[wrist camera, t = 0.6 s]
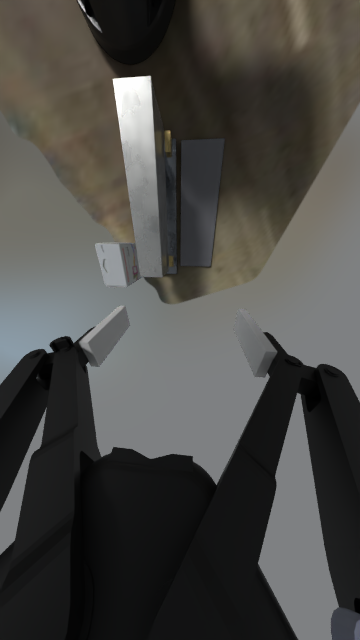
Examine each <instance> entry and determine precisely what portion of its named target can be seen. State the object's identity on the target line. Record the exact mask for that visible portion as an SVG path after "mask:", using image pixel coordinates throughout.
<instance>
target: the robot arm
mask: <svg viewBox="0 0 360 640" xmlns="http://www.w3.org/2000/svg"><path fill="white" fill-rule="evenodd" d="M77 3H78V5H79V7H80V9H81V11H82V13H83V15H84V17H85V20H86V22H87V24H88V26H89V28H90V30H91V31H92V33H93V35H94V37H95V38H96V40H97V41H98V43H99V44H100V45H101V47H102V48H103V49H104V50H105V51H106V52H107V53H108V54H109V55H110V56H111V57H113V58H114V59H116V60H118V61H119V62H122V63H126V64H136V63H139V62H142V61H144V60H145V59H147V58H148V57H149V56H150V55H151V54H152V53H153V52H154V51H155V50H156V48H157V47H158V45H159V44H160V42H161V41H162V39H163V37H164V35H165V32H166V30H167V28H168V25H169V22H170V19H171V15H172V12H173V8H174V3H175V0H77ZM129 326H130V323H129V319H128V315H127V311H126V307H125V306H118V307H117V308H116V309H115V310H114V311H113V312H112V313H111V314H109V315H108V316H107V317H106V318H105V319H104V320H103V321H102V322H100V323H99V324H98V325H97V326H95V327H93V328H91V329H90V330H88V331H87V332H86V333H85V334H84V335H83V336H82V337H80V338H79V339H78V340H77V341H76V342H75V343H73V341H72V340H71V338H70V337H68V336H65V337H60V338H58V339H56V340H54V341H52V342H51V343H50V347H51V348H52V350H53V351H54V352H52V353H47V352H46V351H45V350H44V349H38V350H34V351H32V352H30V353H28V354H26V355H25V356H24V357H23V358H22V359H21V360H20V362H19V363H18V364H17V365H16V366H15V368H14V369H13V370H12V371H11V373H10V374H9V375H8V376H7V377H6V379H5V380H4V381H3V382H2V383H1V385H0V511H1V509H2V507H3V505H4V503H5V501H6V498H7V496H8V494H9V492H10V489H11V487H12V485H13V483H14V480H15V478H16V476H17V473H18V471H19V469H20V467H21V464H22V462H23V460H24V457H25V455H26V453H27V451H28V448H29V446H30V443H31V441H32V439H33V437H34V435H35V432H36V430H37V428H38V425H39V423H40V421H41V418H42V416H43V414H44V412H45V409H46V407H47V410H46V417H45V424H44V431H43V437H42V444H41V447H40V449H38V450H36V451H35V452H34V453H33V455H32V456H31V460H30V463H29V469H28V474H27V479H26V485H25V490H24V495H23V501H22V506H21V511H20V517H19V522H18V527H17V533H16V538H15V541H14V542H13V543H12V544H11V545H10V546H9V547H8V548H7V549H6V550H5V551H4V552H3V553H2V554H1V555H0V640H298V639H297V637H296V635H295V633H294V631H293V629H292V627H291V626H290V623H289V622H288V620H287V618H286V616H285V614H284V612H283V610H282V608H281V606H280V605H279V603H278V601H277V599H276V597H275V595H274V593H273V591H272V589H271V588H270V586H269V584H268V582H267V580H266V578H265V576H264V574H263V573H262V571H261V569H260V567H259V565H258V561H259V557H260V553H261V549H262V545H263V541H264V537H265V532H266V528H267V524H268V520H269V516H270V512H271V508H272V504H273V500H274V496H275V491H276V479H275V474H276V470H277V466H278V462H279V458H280V454H281V451H282V447H283V443H284V440H285V436H286V432H287V428H288V425H289V421H290V417H291V414H292V410H293V406H294V402H295V399H296V395H297V393H299V394H301V399H302V406H303V412H304V419H305V425H306V431H307V438H308V444H309V451H310V457H311V463H312V470H313V475H314V482H315V488H316V495H317V501H318V508H319V514H320V520H321V527H322V533H323V539H324V546H325V551H326V556H327V561H328V566H329V571H330V574H331V578H332V582H333V586H334V590H335V594H336V598H337V601H338V604H339V608H337V609H336V610H334V612H333V615H332V618H331V634H332V640H360V402H359V400H358V398H357V396H356V394H355V392H354V390H353V388H352V386H351V384H350V383H349V380H348V379H347V377H346V375H345V374H344V373H343V372H342V371H340V370H339V369H337V368H335V367H333V366H330V365H327V364H320V365H318V367H317V368H314V367H310V366H306V365H303V363H302V362H301V361H300V360H299V359H297V358H295V357H293V356H290V355H288V354H287V353H286V352H285V350H284V349H283V348H282V347H281V345H280V344H279V343H278V342H277V341H276V339H275V338H274V337H273V336H272V335H271V334H269V333H268V332H262V331H261V329H260V328H259V327H258V325H257V324H256V322H255V321H254V320H253V318H252V317H251V316H250V314H249V313H248V312H247V310H246V309H238V312H237V317H236V321H235V325H234V331H235V333H236V335H237V337H238V340H239V342H240V344H241V347H242V349H243V351H244V353H245V356H246V358H247V360H248V362H249V365H250V367H251V369H252V371H253V374H254V376H255V377H265V376H266V374H267V372H268V374H269V376H270V378H269V380H268V382H267V384H266V386H265V388H264V390H263V392H262V394H261V396H260V399H259V400H258V402H257V404H256V406H255V408H254V410H253V413H252V415H251V417H250V419H249V421H248V423H247V425H246V427H245V429H244V431H243V433H242V435H241V437H240V439H239V441H238V443H237V445H236V447H235V449H234V451H233V454H232V456H231V457H230V459H229V461H228V464H227V465H226V467H225V470H224V471H223V473H222V475H221V477H220V479H219V482H218V483H217V485H216V484H215V482H214V481H213V479H212V478H211V477H210V475H209V474H208V473H207V472H206V471H205V470H204V469H203V468H202V467H201V466H199V465H198V464H196V463H194V462H193V456H186V455H177V454H170V455H166V456H162V457H158V458H154V459H149V458H147V457H145V456H143V455H142V454H140V453H138V452H136V451H134V450H133V449H125V448H117V447H113V449H112V452H111V453H110V454H108V455H105V456H103V457H101V455H100V452H99V450H98V447H97V440H96V432H95V425H94V417H93V409H92V401H91V393H90V386H89V378H88V370H87V366H86V364H87V363H88V362H89V363H90V365H91V366H96V367H99V366H100V365H101V364H102V362H103V361H104V360H105V358H106V357H107V355H108V354H109V353H110V352H111V350H112V349H113V348H114V346H115V345H116V344H117V342H118V341H119V340H120V338H121V336H122V335H123V334H124V333H125V331H126V330H127V329H128V327H129Z"/></svg>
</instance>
